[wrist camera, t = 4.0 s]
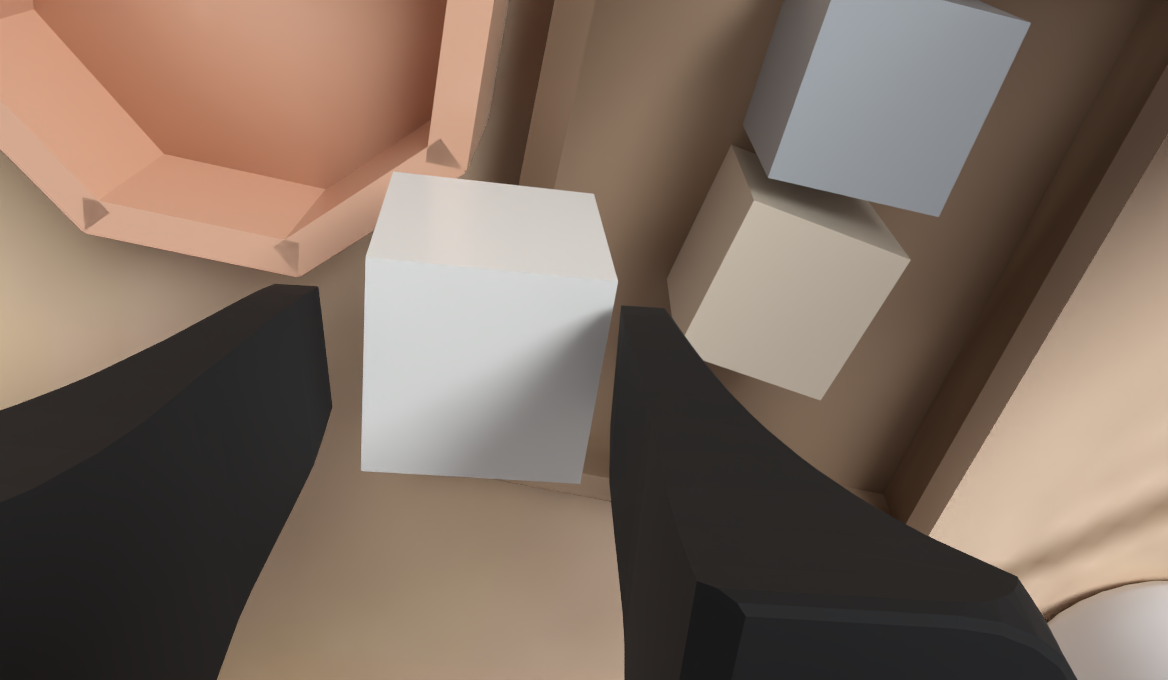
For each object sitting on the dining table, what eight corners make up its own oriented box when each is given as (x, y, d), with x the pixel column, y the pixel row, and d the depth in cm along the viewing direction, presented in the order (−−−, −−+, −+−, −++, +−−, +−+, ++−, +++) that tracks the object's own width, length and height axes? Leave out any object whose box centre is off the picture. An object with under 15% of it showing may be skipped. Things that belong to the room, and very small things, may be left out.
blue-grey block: (958, -9, 17) (1031, 23, 14) (887, 159, 19) (938, 216, 16) (799, -50, 17) (840, -27, 14) (742, 125, 19) (768, 177, 16)
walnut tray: (1200, -60, 17) (1274, -48, 15) (891, 504, 25) (914, 558, 23) (600, -222, 16) (599, -231, 14) (473, 422, 24) (462, 473, 22)
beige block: (865, 196, 19) (911, 259, 16) (791, 322, 21) (820, 400, 18) (731, 144, 19) (753, 200, 16) (666, 278, 21) (676, 351, 18)
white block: (593, 194, 14) (618, 281, 12) (565, 369, 16) (579, 484, 13) (393, 171, 14) (365, 257, 11) (386, 354, 16) (360, 471, 13)
